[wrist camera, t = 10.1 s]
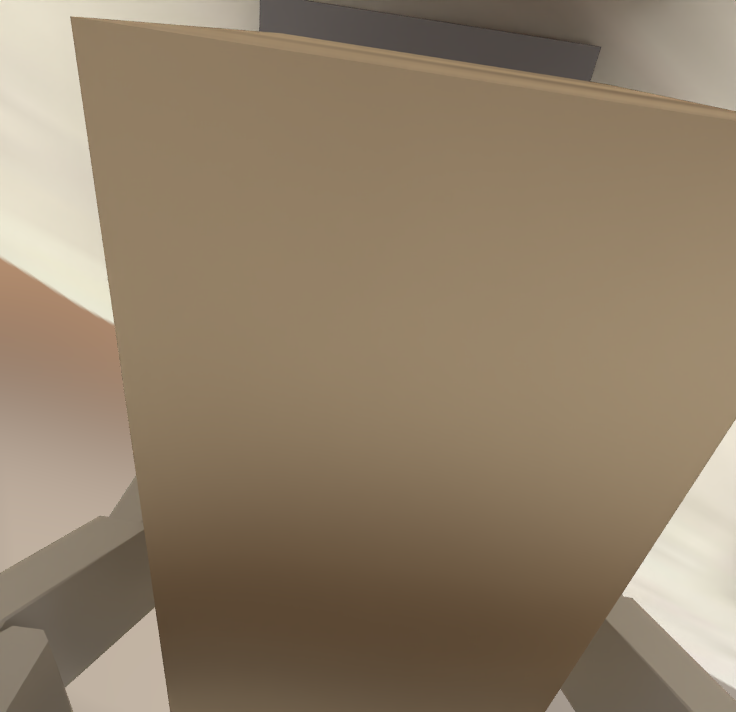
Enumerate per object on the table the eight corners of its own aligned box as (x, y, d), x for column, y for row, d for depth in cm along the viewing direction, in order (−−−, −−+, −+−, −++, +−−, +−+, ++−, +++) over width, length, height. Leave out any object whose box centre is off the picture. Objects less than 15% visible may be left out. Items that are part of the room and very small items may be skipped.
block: (281, 32, 7) (70, 16, 3) (608, 85, 7) (912, 148, 3) (260, 578, 13) (187, 831, 9) (433, 604, 13) (441, 870, 9)
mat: (266, -5, 20) (260, -7, 19) (593, 46, 20) (601, 46, 19) (259, 311, 28) (253, 320, 27) (499, 349, 28) (501, 358, 27)
